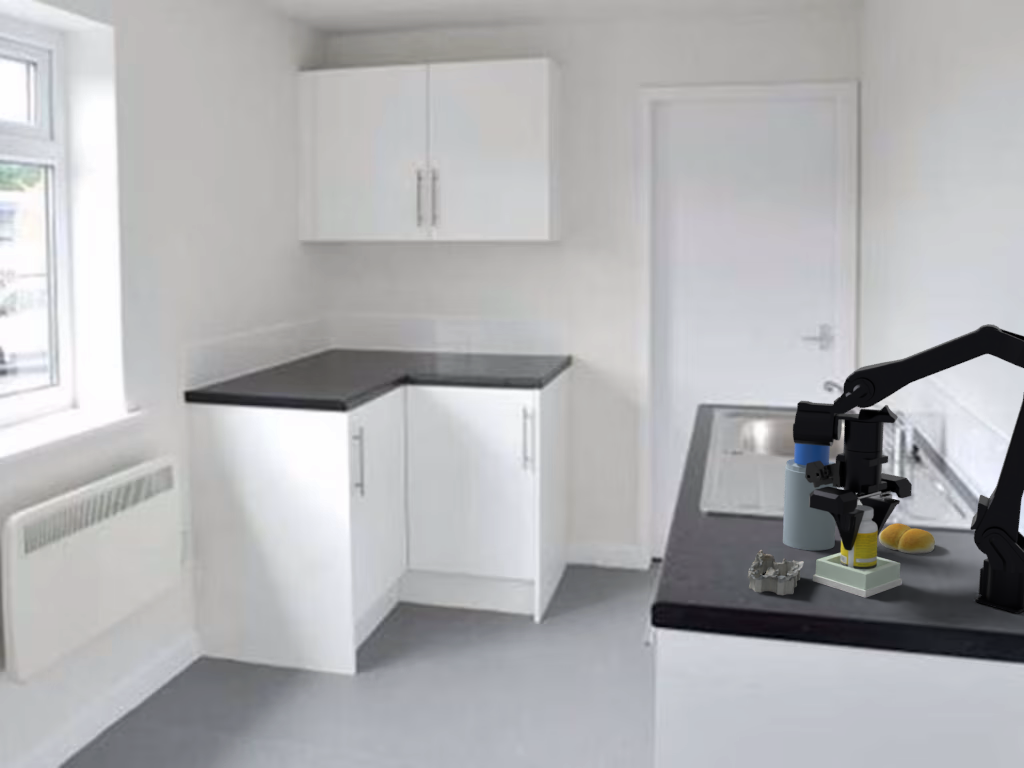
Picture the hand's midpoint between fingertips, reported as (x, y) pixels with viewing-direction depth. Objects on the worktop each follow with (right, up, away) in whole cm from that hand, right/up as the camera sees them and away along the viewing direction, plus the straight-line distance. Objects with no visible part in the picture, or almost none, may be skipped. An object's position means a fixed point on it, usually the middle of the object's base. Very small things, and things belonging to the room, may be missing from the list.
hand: (859, 546), depth 160 cm
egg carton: (-13, -6, +1) cm, 14 cm away
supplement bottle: (0, -4, +1) cm, 4 cm away
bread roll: (+15, -4, +20) cm, 25 cm away
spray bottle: (-2, -3, +22) cm, 22 cm away
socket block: (0, -6, +1) cm, 6 cm away
